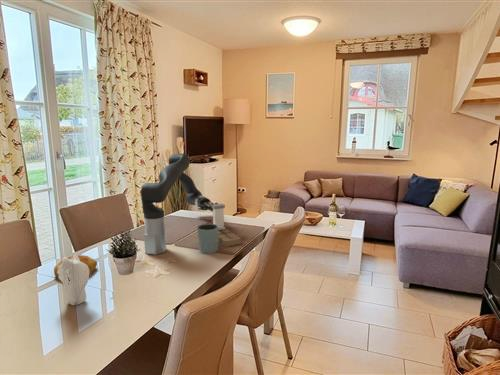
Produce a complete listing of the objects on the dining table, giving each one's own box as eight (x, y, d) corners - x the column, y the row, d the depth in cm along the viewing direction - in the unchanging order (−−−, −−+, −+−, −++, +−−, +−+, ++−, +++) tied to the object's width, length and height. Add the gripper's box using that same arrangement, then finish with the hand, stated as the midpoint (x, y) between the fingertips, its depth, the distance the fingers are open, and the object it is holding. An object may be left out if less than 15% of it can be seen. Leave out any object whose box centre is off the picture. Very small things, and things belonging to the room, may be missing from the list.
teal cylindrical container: (208, 256, 151) (207, 231, 149) (193, 251, 157) (192, 227, 155) (223, 249, 159) (222, 225, 157) (208, 244, 165) (207, 222, 163)
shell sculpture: (82, 293, 118) (77, 246, 115) (93, 301, 113) (88, 252, 109) (58, 303, 112) (51, 253, 108) (68, 311, 107) (61, 260, 103)
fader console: (208, 234, 181) (208, 228, 180) (223, 231, 185) (223, 226, 184) (224, 247, 162) (224, 241, 161) (240, 243, 166) (240, 238, 165)
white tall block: (212, 228, 179) (211, 204, 177) (222, 227, 182) (221, 203, 179) (215, 230, 176) (214, 206, 173) (225, 229, 178) (224, 205, 176)
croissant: (60, 274, 139) (55, 256, 137) (99, 264, 143) (94, 247, 141) (51, 289, 125) (46, 270, 123) (95, 277, 130) (90, 259, 128)
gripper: (192, 198, 194) (202, 204, 179) (212, 195, 200) (224, 201, 186) (192, 210, 196) (202, 217, 181) (213, 207, 202) (224, 214, 187)
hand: (213, 209), depth 183 cm, fingers closed
